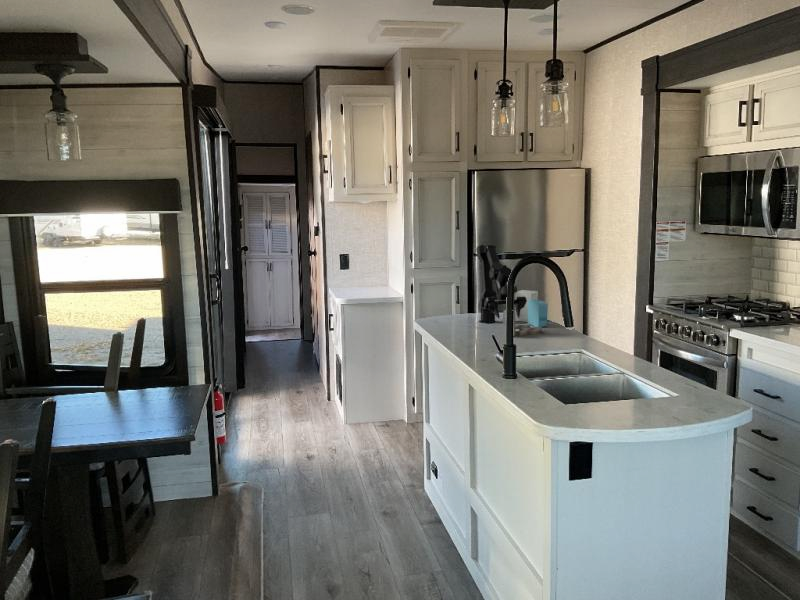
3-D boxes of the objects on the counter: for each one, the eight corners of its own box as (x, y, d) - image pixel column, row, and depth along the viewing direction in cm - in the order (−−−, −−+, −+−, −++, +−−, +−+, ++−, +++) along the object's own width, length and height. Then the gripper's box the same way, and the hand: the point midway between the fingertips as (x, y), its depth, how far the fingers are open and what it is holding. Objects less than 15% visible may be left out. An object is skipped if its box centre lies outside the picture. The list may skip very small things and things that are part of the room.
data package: (547, 327, 320) (547, 302, 318) (538, 327, 318) (539, 303, 317) (535, 323, 331) (536, 299, 329) (527, 323, 330) (527, 299, 328)
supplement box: (530, 322, 332) (531, 292, 330) (514, 321, 337) (514, 291, 335) (537, 320, 340) (538, 290, 337) (520, 318, 344) (521, 289, 342)
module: (506, 337, 297) (506, 311, 295) (502, 334, 302) (503, 310, 300) (514, 336, 297) (515, 311, 296) (511, 334, 302) (511, 309, 300)
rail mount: (519, 335, 300) (519, 329, 299) (506, 331, 308) (506, 325, 308) (542, 333, 306) (542, 327, 305) (529, 329, 314) (529, 323, 314)
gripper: (486, 279, 300) (492, 307, 291) (526, 278, 303) (533, 306, 293) (481, 294, 309) (487, 322, 300) (520, 293, 312) (527, 321, 302)
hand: (508, 317), depth 298 cm, fingers open, 9 cm apart
